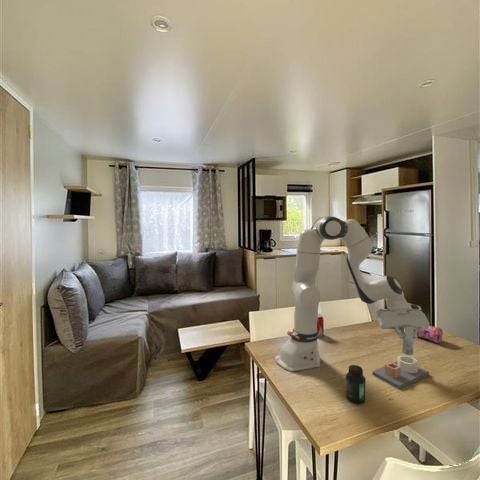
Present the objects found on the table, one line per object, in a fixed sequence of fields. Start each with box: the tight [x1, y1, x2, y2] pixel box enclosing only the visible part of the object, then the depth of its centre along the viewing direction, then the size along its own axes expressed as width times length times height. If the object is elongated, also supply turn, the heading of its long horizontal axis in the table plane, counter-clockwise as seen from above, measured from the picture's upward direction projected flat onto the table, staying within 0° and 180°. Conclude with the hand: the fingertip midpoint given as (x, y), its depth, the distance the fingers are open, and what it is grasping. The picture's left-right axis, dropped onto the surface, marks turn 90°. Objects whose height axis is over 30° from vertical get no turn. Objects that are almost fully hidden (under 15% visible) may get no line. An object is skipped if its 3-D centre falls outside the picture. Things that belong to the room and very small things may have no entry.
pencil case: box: [399, 325, 443, 344], centre depth 155 cm, size 21×9×9 cm, turn 31°
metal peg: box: [402, 325, 414, 356], centre depth 119 cm, size 4×4×12 cm
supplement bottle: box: [345, 364, 367, 405], centre depth 101 cm, size 7×7×12 cm
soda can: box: [317, 313, 325, 338], centre depth 160 cm, size 7×7×12 cm
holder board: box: [371, 355, 430, 390], centre depth 117 cm, size 21×12×6 cm, turn 117°
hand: (408, 338), depth 118 cm, fingers closed on metal peg, 4 cm apart
